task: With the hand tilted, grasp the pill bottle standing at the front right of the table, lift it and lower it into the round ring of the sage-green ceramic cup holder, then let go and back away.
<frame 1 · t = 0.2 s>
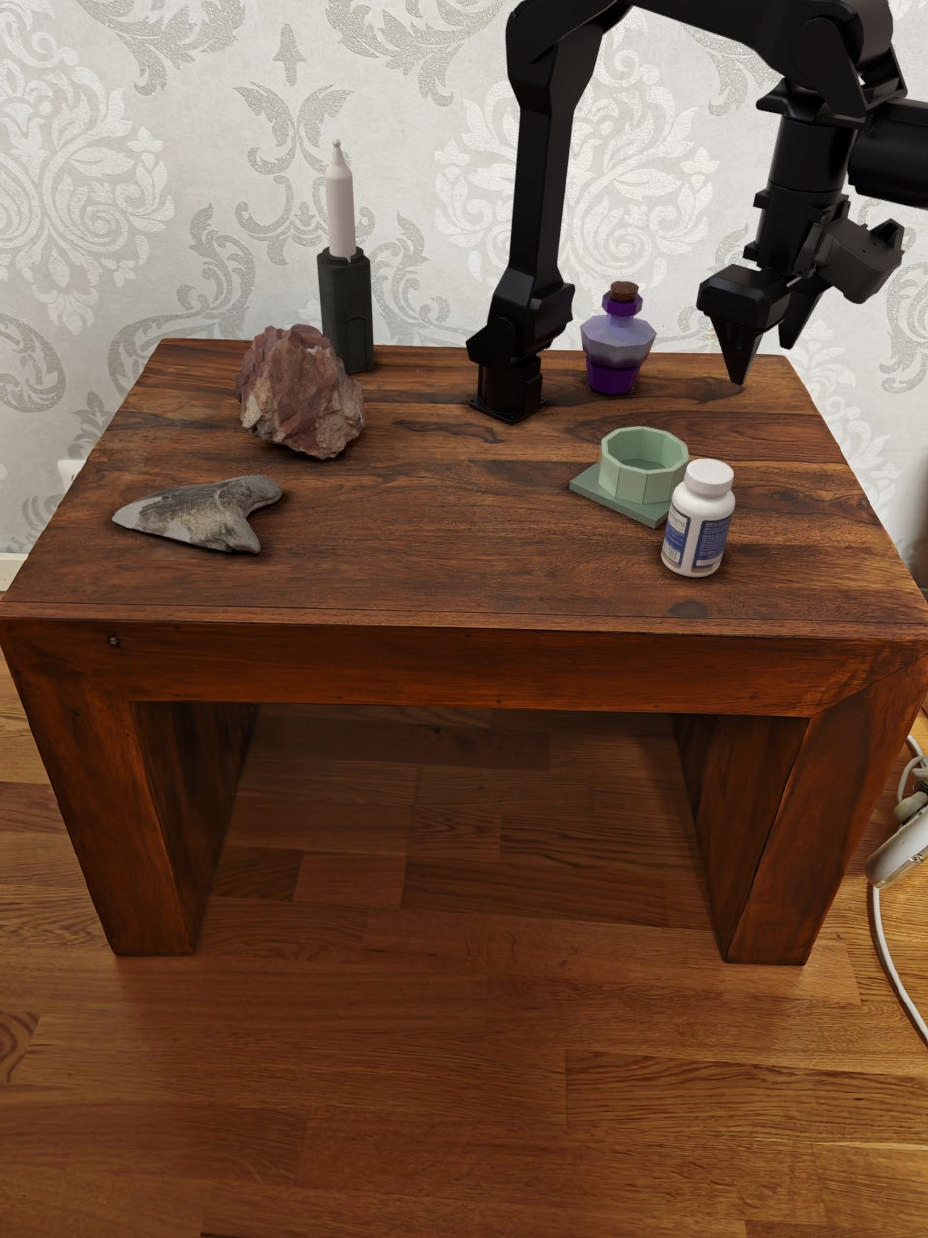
hand: (762, 365, 86), 15 cm above the table, tool pointing down, fingers open, 9 cm apart
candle: (349, 365, 116), on the table
pill bottle: (689, 562, 89), on the table
mineral specimen: (303, 430, 104), on the table
fossil: (194, 522, 91), on the table
potion bottle: (610, 386, 113), on the table
cup holder: (638, 487, 97), on the table
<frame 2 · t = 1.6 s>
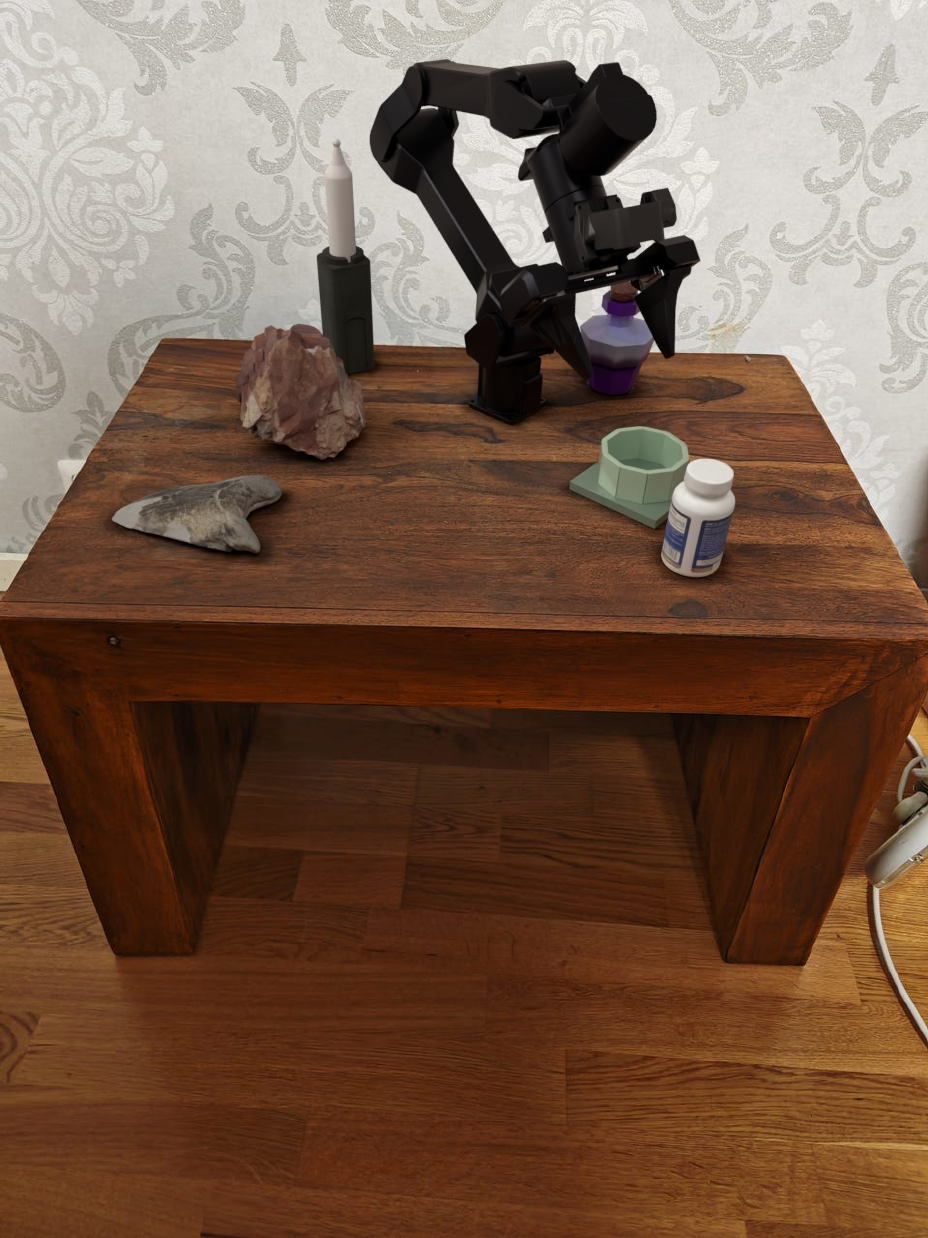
hand: (630, 368, 88), 13 cm above the table, tool tilted 45°, fingers open, 9 cm apart
nothing on the table moved.
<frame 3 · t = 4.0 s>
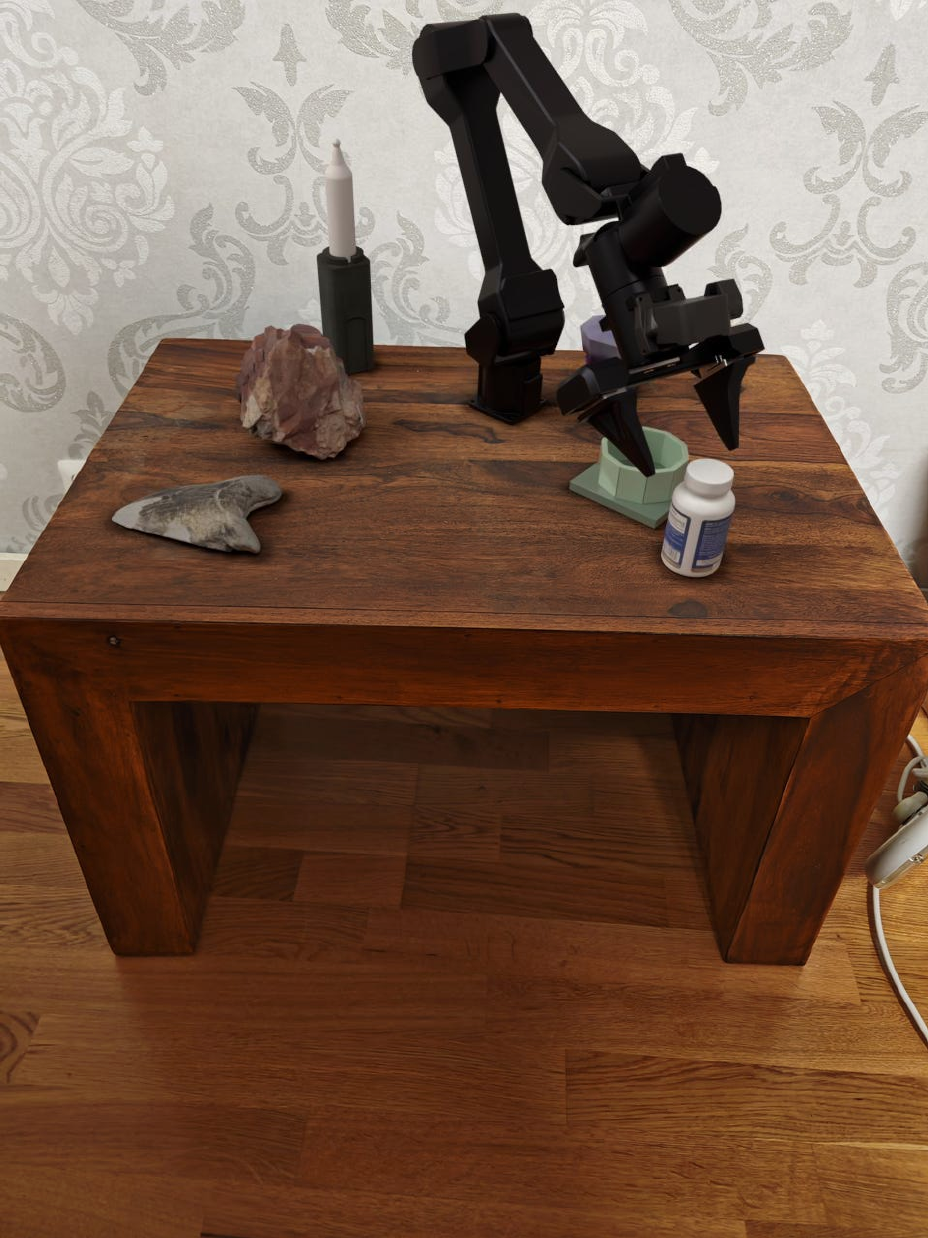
hand: (693, 462, 84), 9 cm above the table, tool tilted 45°, fingers open, 9 cm apart
nothing on the table moved.
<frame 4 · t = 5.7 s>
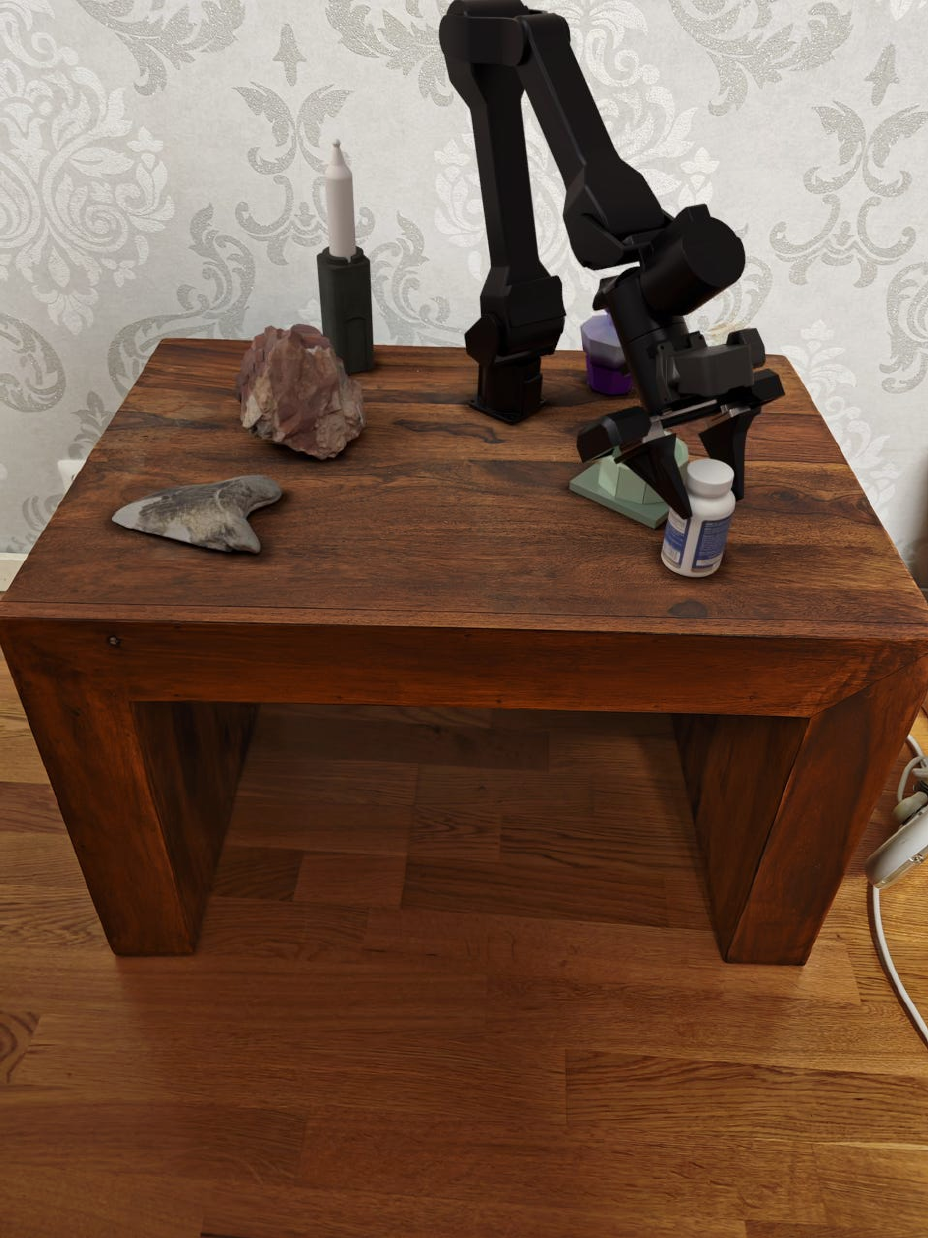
hand: (713, 509, 83), 7 cm above the table, tool tilted 45°, fingers closed on pill bottle, 5 cm apart
pill bottle: (689, 562, 89), on the table, touching gripper
everything else where it was.
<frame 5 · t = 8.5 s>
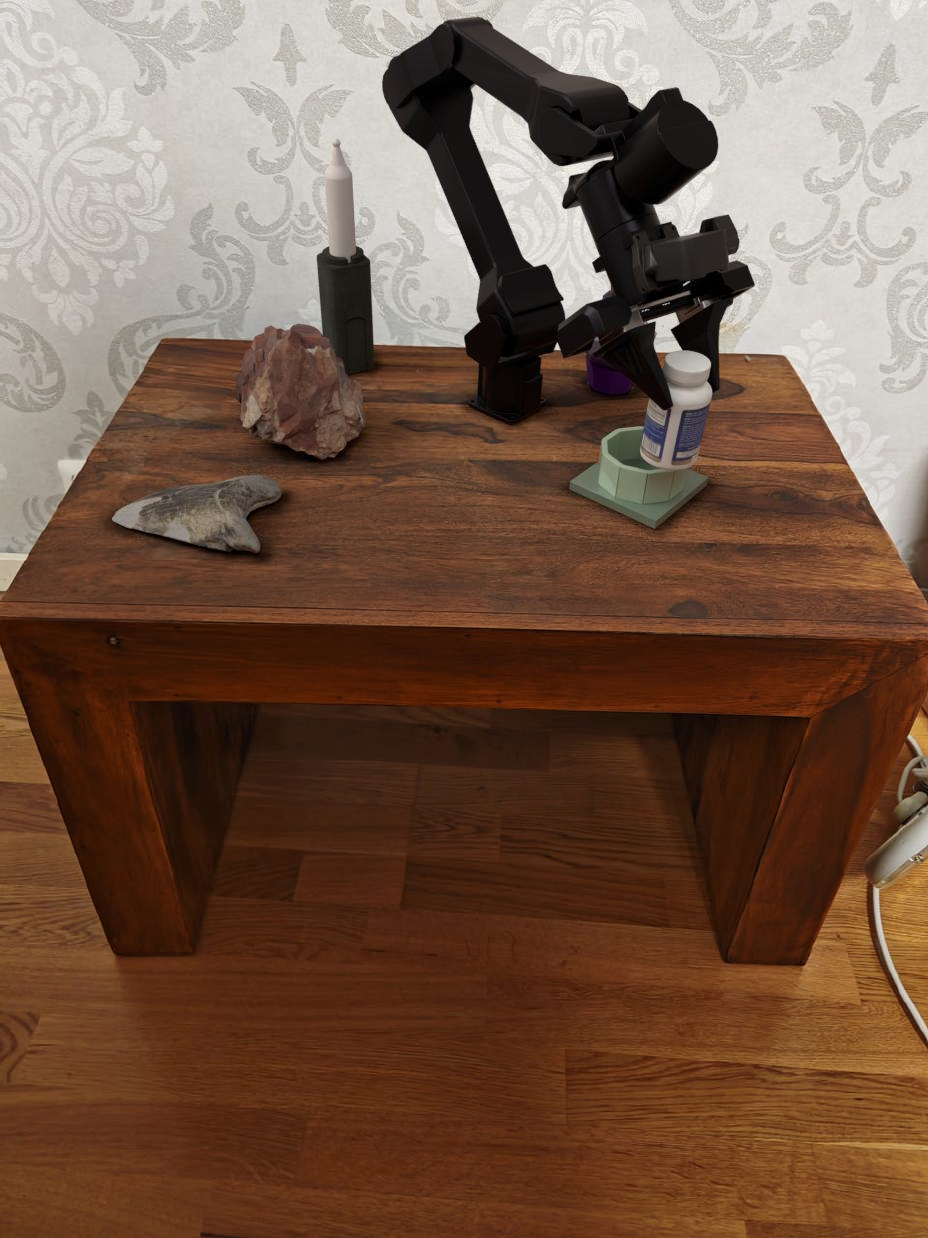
hand: (691, 400, 85), 13 cm above the table, tool tilted 45°, fingers closed on pill bottle, 5 cm apart
pill bottle: (667, 457, 90), point 6 cm above the table, touching gripper
everything else where it was.
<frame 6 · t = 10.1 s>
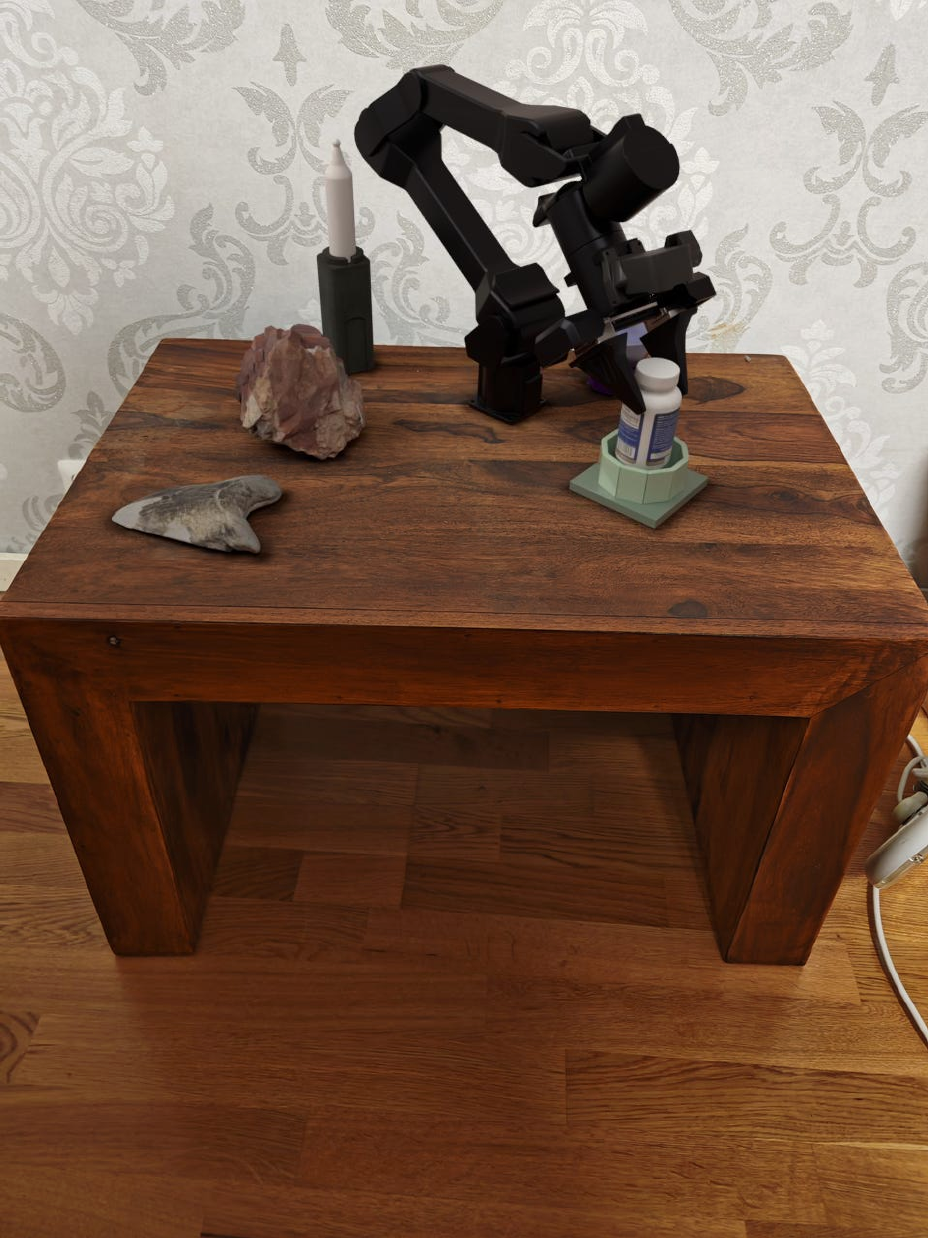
hand: (663, 404, 90), 10 cm above the table, tool tilted 45°, fingers closed on pill bottle, 5 cm apart
pill bottle: (641, 459, 95), point 3 cm above the table, touching gripper
everything else where it was.
when the fingers open (8 cm above the table, at t = 11.3 s): pill bottle stays where it is, resting on cup holder.
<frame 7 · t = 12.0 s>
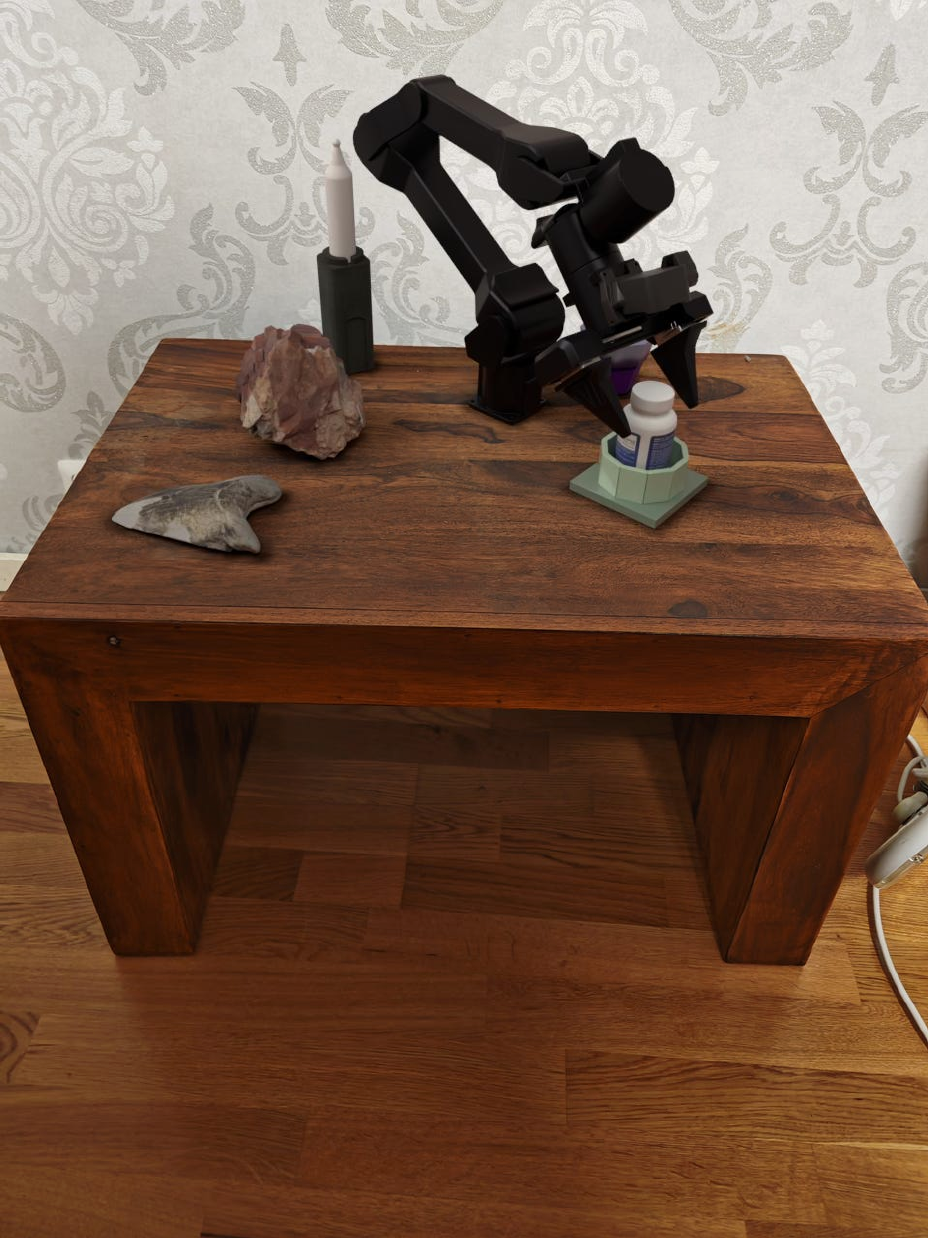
hand: (661, 421, 91), 8 cm above the table, tool tilted 45°, fingers open, 9 cm apart
pill bottle: (638, 480, 97), point 1 cm above the table, touching cup holder
everything else where it was.
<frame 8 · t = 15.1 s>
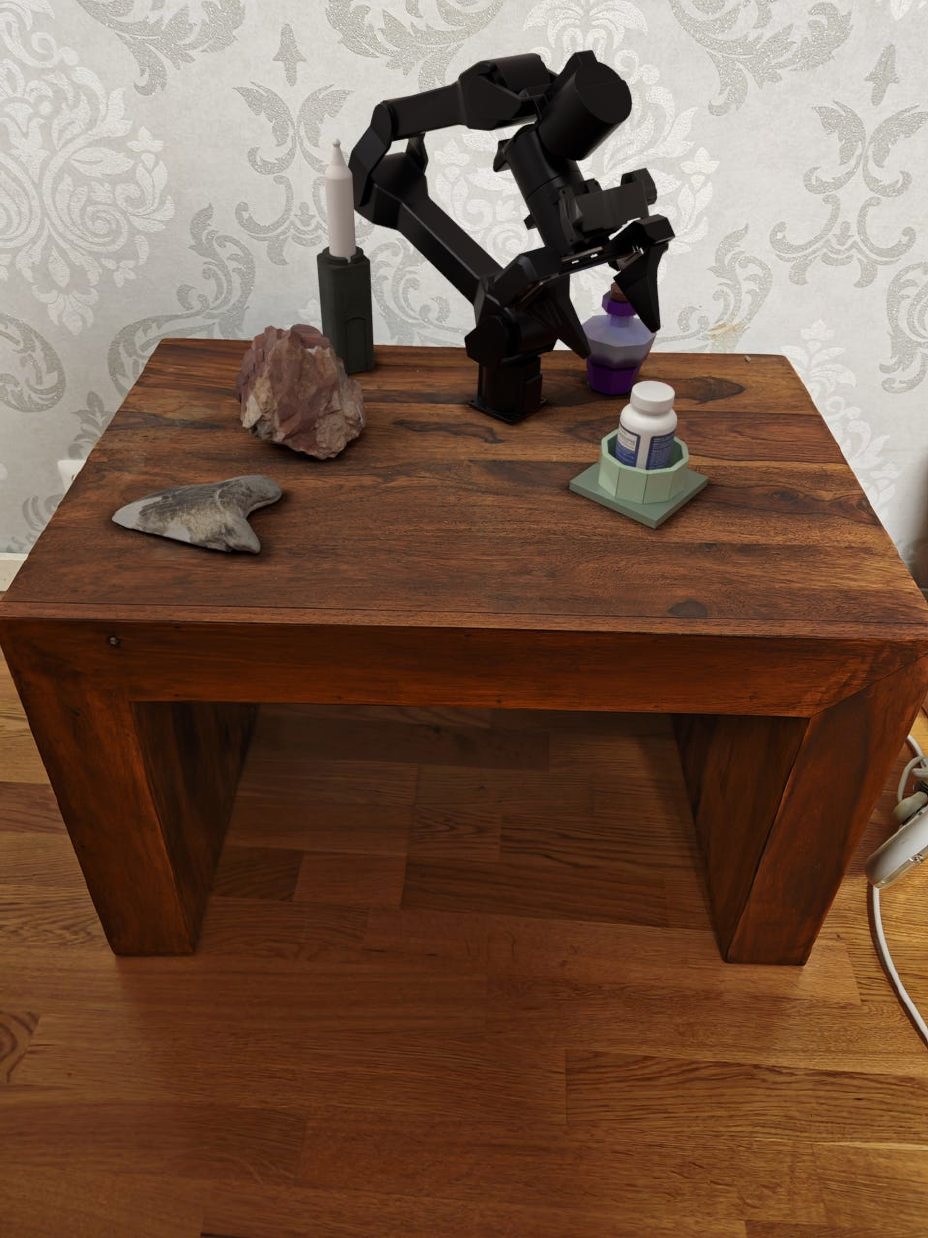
hand: (622, 343, 91), 14 cm above the table, tool tilted 45°, fingers open, 9 cm apart
nothing on the table moved.
at the end: pill bottle 0.2 cm off-centre on the cup holder, point 0.8 cm above the cup holder's base; pill bottle tilted 0°; potion bottle moved 0.2 cm from its start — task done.
